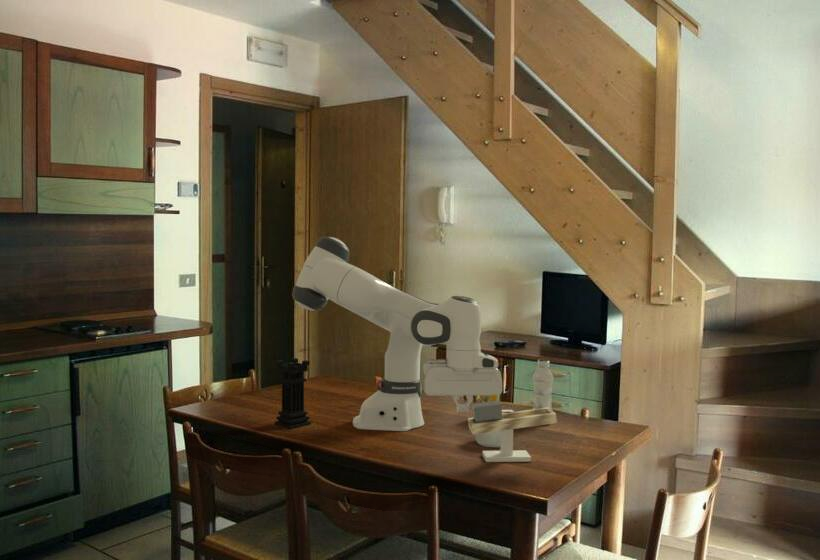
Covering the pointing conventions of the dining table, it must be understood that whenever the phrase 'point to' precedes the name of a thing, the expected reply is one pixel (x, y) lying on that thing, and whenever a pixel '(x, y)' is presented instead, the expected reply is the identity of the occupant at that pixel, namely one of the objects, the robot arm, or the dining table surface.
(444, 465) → the dining table surface
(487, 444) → the ramekin
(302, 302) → the robot arm
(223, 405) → the dining table surface
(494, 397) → the crayon box
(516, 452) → the stand
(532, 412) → the beam
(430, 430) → the dining table surface
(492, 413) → the block
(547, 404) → the plastic bottle
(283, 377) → the chess piece
